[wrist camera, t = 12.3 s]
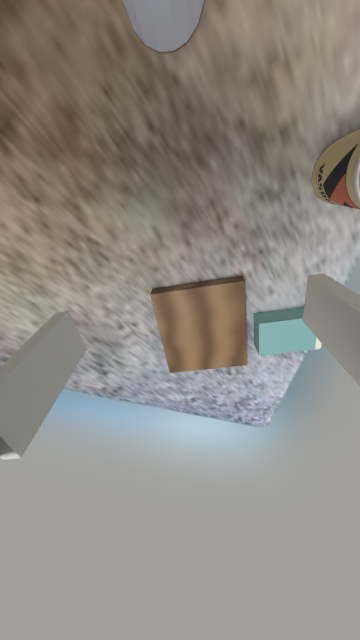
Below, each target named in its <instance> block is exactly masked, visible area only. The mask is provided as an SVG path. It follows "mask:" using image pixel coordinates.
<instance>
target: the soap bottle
mask: <svg viewBox="0 0 360 640" xmlns="http://www.w3.org/2000/svg"><path fill="white" fill-rule="evenodd" d="M123 3H124V6H125V8H126V11H127V14H128V16H129V19H130V22H131V24H132V27H133V29H134V31H135V33H136V34H137V35H138V36H139V38H140V39H141V40H142V41H143V42H144V44H145V45H146V46H148V47H150V48H152V49H154V50H156V51H158V52H167V51H175V50H176V49H178V48H179V47H180V46H182V45H183V44H184V43H186V42H187V41H188V40H189V38H190V36H191V35H192V33H193V32H194V30H195V28H196V27H197V25H198V22H199V18H200V14H201V11H202V7H203V3H204V0H123Z"/></svg>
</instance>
